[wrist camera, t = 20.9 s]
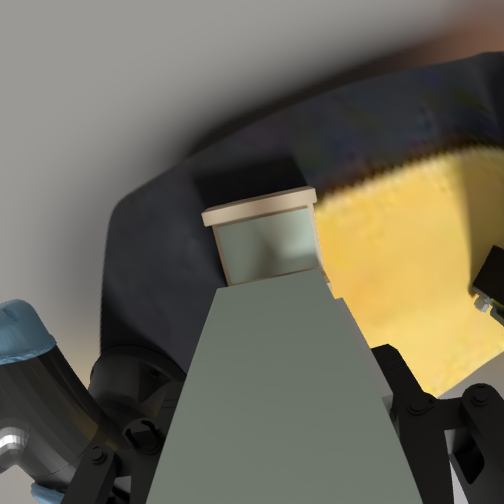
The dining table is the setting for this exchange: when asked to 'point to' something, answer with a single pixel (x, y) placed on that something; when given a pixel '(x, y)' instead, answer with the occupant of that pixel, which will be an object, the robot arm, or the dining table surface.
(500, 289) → the electrical component
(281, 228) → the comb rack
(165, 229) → the dining table surface
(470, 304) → the dining table surface
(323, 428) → the sage plug
